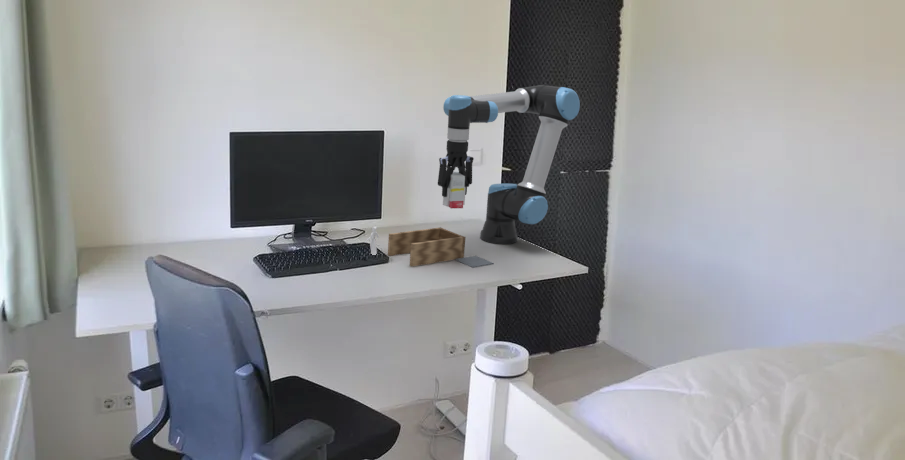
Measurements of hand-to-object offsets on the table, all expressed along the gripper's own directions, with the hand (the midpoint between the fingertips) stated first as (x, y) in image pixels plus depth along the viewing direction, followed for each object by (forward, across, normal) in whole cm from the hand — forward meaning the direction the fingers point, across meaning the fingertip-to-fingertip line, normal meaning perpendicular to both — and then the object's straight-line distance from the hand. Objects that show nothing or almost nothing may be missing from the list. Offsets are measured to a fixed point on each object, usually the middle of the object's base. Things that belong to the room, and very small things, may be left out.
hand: (453, 204), depth 254 cm
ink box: (+1, 0, 0) cm, 1 cm away
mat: (+21, -6, +6) cm, 22 cm away
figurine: (+20, +26, -12) cm, 35 cm away
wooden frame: (+20, +7, -6) cm, 22 cm away
